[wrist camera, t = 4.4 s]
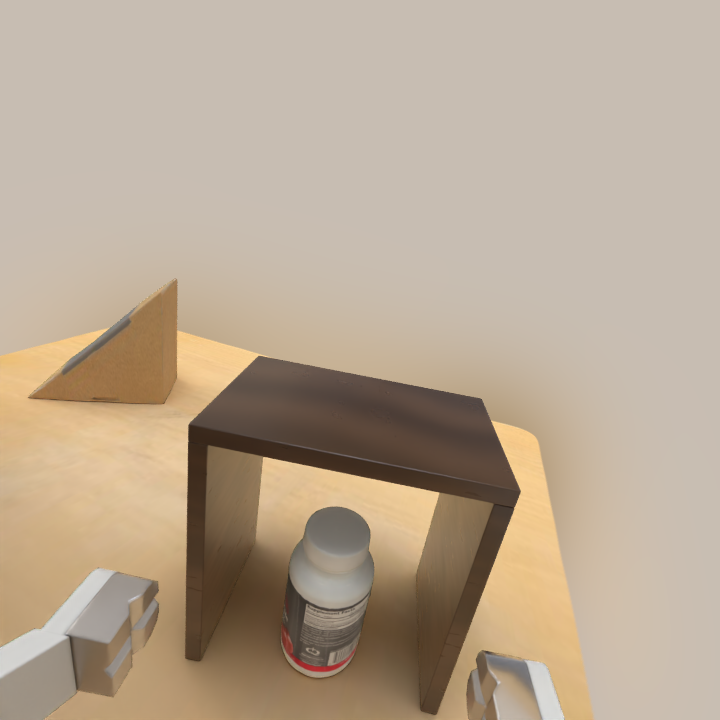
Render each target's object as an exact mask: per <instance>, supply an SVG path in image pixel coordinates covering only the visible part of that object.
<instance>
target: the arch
mask: <svg viewBox="0 0 720 720" xmlns="http://www.w3.org/2000/svg"><path fill="white" fill-rule="evenodd" d="M188 441H189V442H188V492H187V565H186V638H185V658H188V659H192V660H197V661H200V660H201V658H202V656H203V654H204V652H205V649H206V647H207V645H208V643H209V641H210V638H211V636H212V634H213V632H214V630H215V627H216V625H217V623H218V621H219V619H220V617H221V614H222V612H223V610H224V608H225V606H226V603H227V601H228V599H229V597H230V595H231V592H232V590H233V588H234V586H235V584H236V581H237V579H238V577H239V575H240V573H241V570H242V568H243V566H244V564H245V562H246V559H247V557H248V555H249V553H250V551H251V548H252V546H253V544H254V542H255V537H256V526H257V515H258V505H259V494H260V483H261V472H262V462H263V457H268V458H273V459H278V460H282V461H287V462H292V463H297V464H302V465H307V466H312V467H317V468H322V469H327V470H332V471H337V472H341V473H346V474H351V475H356V476H361V477H366V478H371V479H376V480H381V481H386V482H391V483H396V484H400V485H405V486H410V487H415V488H420V489H425V490H430V491H435V492H440V494H439V497H438V501H437V504H436V508H435V511H434V515H433V518H432V521H431V525H430V528H429V532H428V535H427V539H426V542H425V546H424V549H423V552H422V556H421V559H420V563H419V566H418V570H417V573H416V585H417V614H418V643H419V672H420V701H421V711H423V712H428V713H432V714H437V712H438V709H439V707H440V704H441V701H442V699H443V696H444V693H445V691H446V688H447V685H448V683H449V680H450V678H451V675H452V672H453V670H454V667H455V664H456V662H457V659H458V656H459V654H460V651H461V648H462V646H463V643H464V641H465V638H466V635H467V633H468V630H469V627H470V625H471V622H472V619H473V617H474V614H475V612H476V609H477V606H478V604H479V601H480V598H481V596H482V593H483V590H484V588H485V585H486V582H487V580H488V577H489V575H490V572H491V569H492V567H493V564H494V561H495V559H496V556H497V553H498V551H499V548H500V545H501V543H502V540H503V538H504V535H505V532H506V530H507V527H508V524H509V522H510V519H511V516H512V514H513V511H514V507H515V505H516V503H517V500H518V498H519V495H520V492H521V491H520V488H519V486H518V484H517V481H516V479H515V476H514V474H513V472H512V469H511V467H510V465H509V462H508V460H507V458H506V455H505V453H504V451H503V448H502V446H501V443H500V441H499V439H498V436H497V434H496V432H495V429H494V427H493V425H492V422H491V420H490V417H489V415H488V413H487V410H486V408H485V406H484V403H483V401H482V399H480V398H474V397H469V396H464V395H459V394H454V393H449V392H444V391H438V390H433V389H428V388H423V387H418V386H413V385H407V384H402V383H396V382H392V381H387V380H381V379H376V378H371V377H366V376H360V375H356V374H351V373H345V372H340V371H335V370H330V369H325V368H320V367H314V366H309V365H303V364H299V363H293V362H288V361H283V360H278V359H273V358H268V357H263V356H258V357H257V358H256V359H255V360H254V361H253V362H252V363H251V364H250V365H249V366H248V367H247V368H246V369H245V370H244V371H243V372H242V373H241V374H240V375H239V376H238V377H237V378H236V379H235V380H234V381H232V382H231V383H230V384H229V385H228V386H227V387H226V388H225V389H224V390H223V391H222V392H221V393H220V394H219V395H218V396H217V397H216V398H215V399H214V400H213V401H212V402H211V403H210V404H209V405H208V406H207V407H206V408H205V409H204V410H203V411H202V412H201V413H200V414H199V415H198V416H197V417H196V418H195V419H194V420H193V421H191V422H190V423H189V427H188Z"/></svg>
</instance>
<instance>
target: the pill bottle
mask: <svg viewBox="0 0 720 720" xmlns="http://www.w3.org/2000/svg"><path fill="white" fill-rule="evenodd" d="M369 543H370V529H369V526H368V524H367V523H366V521H365V520H364V519H363V518H362V517H361V516H360V515H359V514H357V513H356V512H354V511H352V510H350V509H347V508H343V507H327V508H323V509H321V510H318V511H316V512H315V513H314V514H313V515H312V516H311V517H310V518H309V520H308V522H307V524H306V528H305V533H304V537H303V539H302V540H301V541H300V542H299V543H298V544H297V546H296V547H295V549H294V551H293V553H292V556H291V559H290V563H289V572H288V581H287V588H286V595H285V603H284V610H283V618H282V627H281V646H282V649H283V652H284V655H285V656H286V658H287V660H288V661H289V663H290V664H291V665H292V666H293V667H294V668H295V669H296V670H297V671H299V672H301V673H303V674H305V675H306V676H310V677H316V678H320V677H329V676H332V675H335V674H336V673H338V672H340V671H341V670H343V669H344V668H345V667H346V666H347V665H348V664H349V662H350V661H351V660H352V658H353V656H354V654H355V651H356V648H357V645H358V641H359V638H360V634H361V630H362V625H363V621H364V617H365V613H366V608H367V604H368V600H369V597H370V594H371V588H372V584H373V578H374V563H373V559H372V556H371V554H370V552H369Z"/></svg>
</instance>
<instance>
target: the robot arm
mask: <svg viewBox="0 0 720 720" xmlns="http://www.w3.org/2000/svg"><path fill="white" fill-rule="evenodd" d="M158 591H159V589H158V581H154V580H150V579H146V578H142V577H137V576H133V575H129V574H124V573H120V572H117V571H112V570H107V569H103V568H97V569H95V570H94V571H93V572H91V573H90V574H89V575H88V576H87V577H86V578H85V580H84V581H83V582H82V583H81V584H80V585H79V586H78V587H77V589H76V590H75V591H74V592H73V593H72V594H71V595H70V597H69V598H68V599H67V600H66V601H65V602H64V603H63V605H62V606H61V607H60V608H59V609H58V610H57V611H56V612H55V614H54V615H53V616H52V617H51V618H50V619H49V620H48V622H47V623H46V624H45V625H44V626H43V627H42V628H41V630H40V629H35V628H34V629H32V630H31V631H29V632H27V633H25V634H23V635H22V636H20V637H18V638H16V639H14V640H12V641H11V642H9V643H7V644H5V645H3V646H2V647H0V720H44V719H45V718H46V717H47V716H49V715H50V714H51V713H52V712H54V711H55V710H56V709H57V708H59V707H60V706H61V705H62V704H64V703H65V702H66V701H67V700H69V699H70V698H71V697H72V696H74V695H75V694H76V693H77V690H78V691H83V692H89V693H94V694H99V695H104V696H110V697H114V696H115V694H116V692H117V691H118V689H119V688H120V686H121V684H122V683H123V681H124V679H125V678H126V676H127V674H128V673H129V671H130V669H131V668H132V655H133V654H134V653H136V652H137V651H138V650H140V649H141V648H143V647H144V646H145V644H146V643H147V641H148V639H149V637H150V636H151V634H152V631H153V629H154V627H155V624H156V622H157V618H158V613H159V603H158V602H157V601H156V599H155V598H154V597H155V596H156V594H157V593H158ZM476 663H477V668H476V669H475V670H473V671H471V673H470V676H469V679H468V684H467V694H466V695H467V711H468V719H469V720H565V718H564V715H563V712H562V709H561V706H560V703H559V700H558V697H557V694H556V691H555V688H554V685H553V682H552V679H551V676H550V673H549V670H548V668H547V667H546V665H545V664H544V663H541V662H536V661H530V660H525V659H522V658H520V657H514V656H509V655H504V654H499V653H494V652H489V651H484V650H482V651H480V652H479V653H478V656H477V658H476Z"/></svg>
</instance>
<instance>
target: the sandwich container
mask: <svg viewBox="0 0 720 720" xmlns="http://www.w3.org/2000/svg"><path fill="white" fill-rule="evenodd" d="M176 378H177V279H176V278H175V279H173V280H172V281H170V282H169V283H167V284H165V285H164V286H163V287H161V288H160V289H159V290H157V291H156V292H155V293H153V294H152V295H151V296H149V297H148V298H146V299H145V300H144V301H142V302H141V303H140V304H139V305H138V306H136V307H135V308H134V309H133V310H132V311H131V312H129V313H128V314H127V315H126V316H125V317H123V318H122V319H121V320H120V321H119V322H117V323H116V324H115V325H113V326H112V327H111V328H110V329H109V330H107V331H106V332H105V333H104V334H103V335H101V336H100V337H99V338H98V339H97V340H95V341H94V342H93V343H91V344H90V345H89V346H87V347H86V348H85V349H83V350H82V351H81V352H79V353H78V354H77V355H75V356H74V357H72V358H71V359H70V360H69V361H67V362H66V363H65V364H64V365H63V366H62V367H61V368H59V369H58V370H57V371H56V372H55V373H54V374H53V375H52V376H50V377H49V378H48V379H47V380H46V381H45V382H44V383H43V384H41V385H40V386H39V387H38V388H37V389H36V390H35V391H34V392H33V393H32V394H31V395H30V396H29V397H28V398H42V399H59V400H77V401H102V402H122V403H148V404H164V402H165V400H166V398H167V396H168V395H169V393H170V391H171V389H172V387H173V385H174V383H175V380H176Z"/></svg>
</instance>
